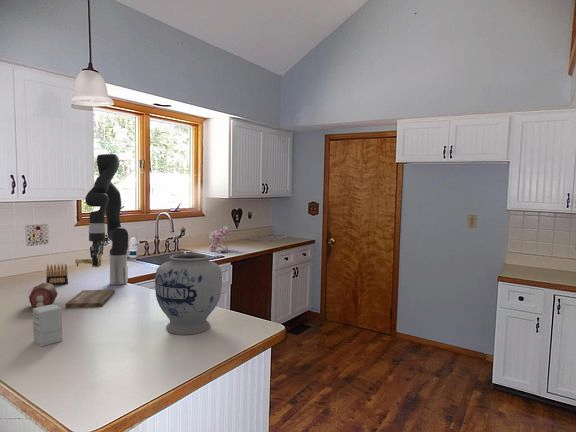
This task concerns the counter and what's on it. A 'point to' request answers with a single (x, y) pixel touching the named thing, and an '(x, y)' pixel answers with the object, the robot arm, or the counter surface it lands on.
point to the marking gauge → (89, 261)
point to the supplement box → (47, 324)
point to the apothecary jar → (188, 292)
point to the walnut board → (90, 298)
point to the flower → (217, 237)
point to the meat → (43, 295)
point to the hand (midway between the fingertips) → (97, 264)
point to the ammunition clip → (57, 275)
